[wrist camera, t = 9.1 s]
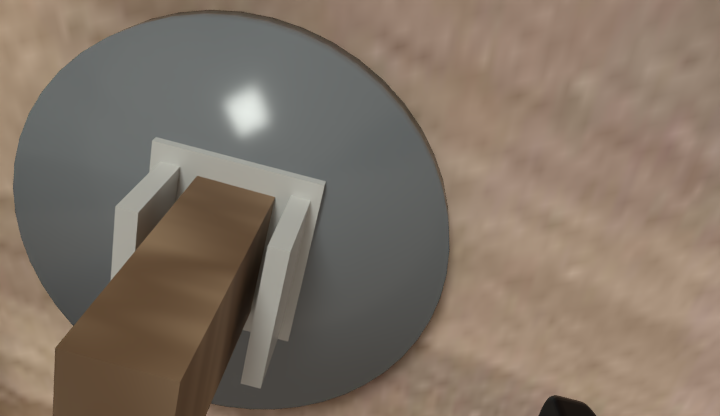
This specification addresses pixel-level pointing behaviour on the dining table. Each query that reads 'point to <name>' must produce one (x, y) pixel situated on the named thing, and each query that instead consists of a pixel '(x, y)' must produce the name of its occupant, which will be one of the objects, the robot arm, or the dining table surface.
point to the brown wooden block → (169, 311)
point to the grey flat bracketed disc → (249, 171)
